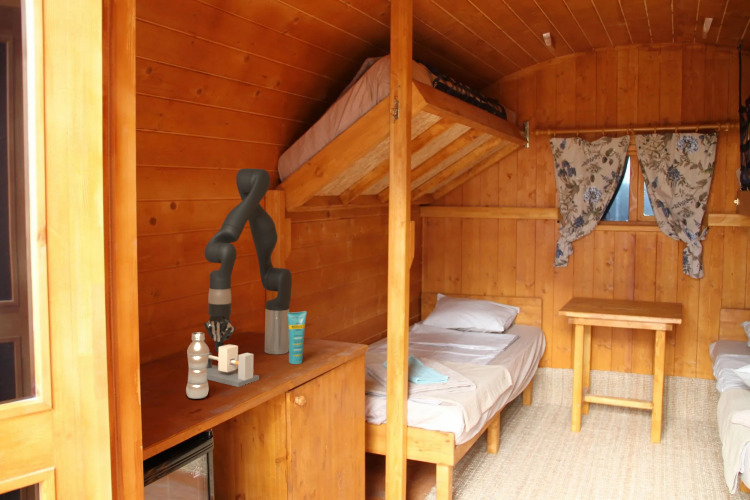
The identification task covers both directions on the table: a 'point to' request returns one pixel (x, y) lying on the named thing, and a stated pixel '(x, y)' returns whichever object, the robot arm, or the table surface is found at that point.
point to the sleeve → (227, 357)
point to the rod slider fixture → (233, 377)
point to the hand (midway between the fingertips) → (219, 351)
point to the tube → (296, 336)
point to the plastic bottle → (197, 367)
